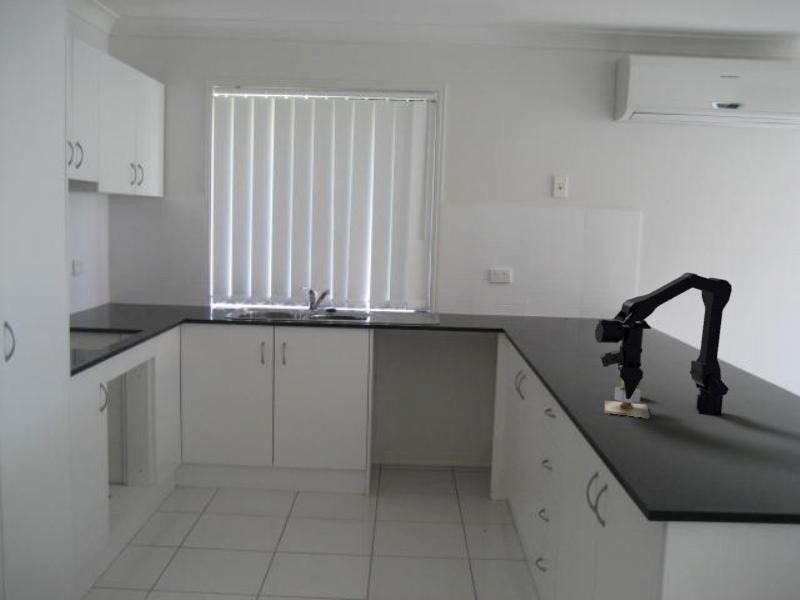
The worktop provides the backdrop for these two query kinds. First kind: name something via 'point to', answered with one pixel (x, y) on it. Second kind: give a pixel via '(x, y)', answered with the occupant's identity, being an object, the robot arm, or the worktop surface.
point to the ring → (621, 395)
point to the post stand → (627, 409)
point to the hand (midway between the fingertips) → (627, 395)
